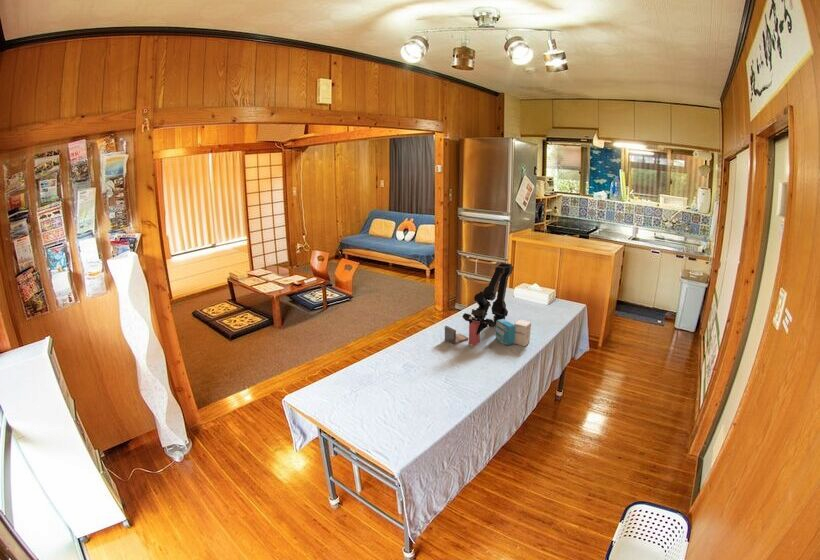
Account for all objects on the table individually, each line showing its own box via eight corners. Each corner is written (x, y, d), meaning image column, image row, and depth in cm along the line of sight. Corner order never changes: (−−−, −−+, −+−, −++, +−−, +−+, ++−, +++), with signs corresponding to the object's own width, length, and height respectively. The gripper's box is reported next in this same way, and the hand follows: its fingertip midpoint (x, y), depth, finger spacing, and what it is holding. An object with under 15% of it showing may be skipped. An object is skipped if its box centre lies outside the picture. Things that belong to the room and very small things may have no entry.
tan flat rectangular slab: (458, 335, 257) (458, 333, 256) (468, 339, 250) (468, 337, 250) (446, 339, 251) (446, 337, 251) (455, 344, 245) (455, 342, 245)
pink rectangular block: (473, 340, 250) (474, 320, 246) (479, 341, 247) (480, 322, 243) (468, 343, 245) (469, 324, 241) (474, 345, 243) (475, 325, 239)
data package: (495, 338, 252) (496, 319, 248) (501, 336, 253) (502, 318, 250) (508, 346, 241) (509, 327, 238) (514, 344, 243) (515, 325, 239)
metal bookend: (446, 339, 251) (446, 325, 248) (455, 344, 245) (455, 330, 242) (444, 340, 250) (444, 326, 247) (453, 345, 244) (453, 330, 241)
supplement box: (512, 343, 245) (513, 323, 241) (518, 338, 250) (519, 319, 246) (524, 346, 240) (526, 326, 236) (530, 341, 246) (531, 321, 242)
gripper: (464, 300, 247) (454, 324, 242) (493, 306, 236) (483, 331, 232) (470, 308, 256) (461, 331, 251) (499, 315, 245) (489, 339, 240)
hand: (473, 333), depth 243 cm, fingers closed on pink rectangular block, 4 cm apart
